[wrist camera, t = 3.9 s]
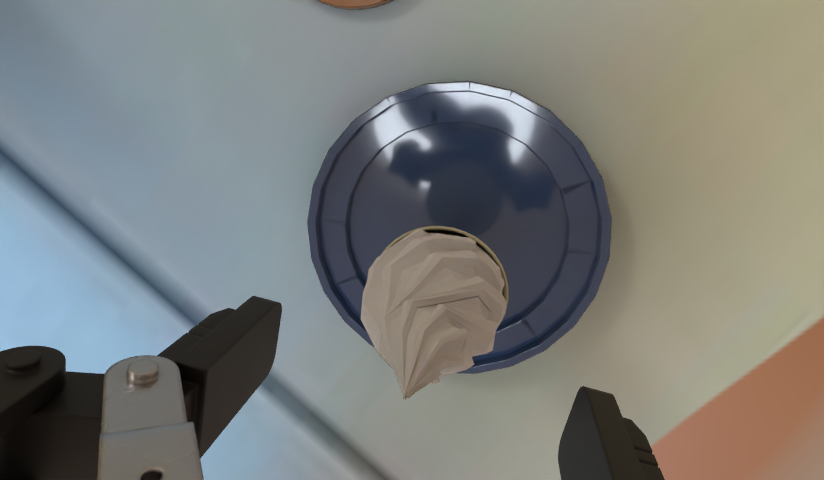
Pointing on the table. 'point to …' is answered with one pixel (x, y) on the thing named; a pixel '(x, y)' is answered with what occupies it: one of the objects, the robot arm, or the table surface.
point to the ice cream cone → (433, 304)
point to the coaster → (354, 3)
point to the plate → (467, 204)
